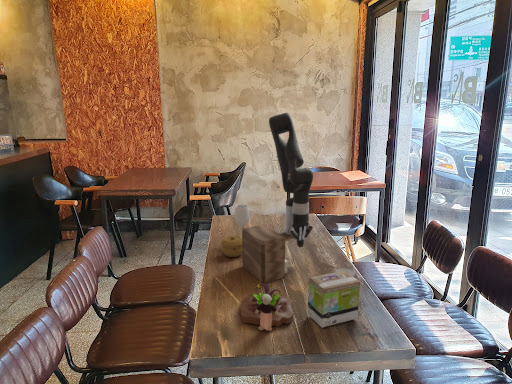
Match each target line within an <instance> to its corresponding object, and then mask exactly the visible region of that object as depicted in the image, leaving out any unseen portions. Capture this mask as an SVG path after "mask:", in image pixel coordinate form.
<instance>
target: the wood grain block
mask: <svg viewBox="0 0 512 384" xmlns="http://www.w3.org/2000/svg"><path fill="white" fill-rule="evenodd" d="M242 245H243V253H242V267H244V269H245V270H247V271H248V272H249V273H250V274H251V275H253V276H254V277H255V278H256V279H257V280H259V282H261V284H264V283H267V282H271V281H275V280H279V279H284V278H286V276H285V275H286V274H285V259H286V236H284V235H282V234H280V233H278V232H277V231H275V230H273V229H272V228H269V226H266V225H265V224H261V225H255V226H254V225H253V226H249V227H243V228H242Z"/></svg>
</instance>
